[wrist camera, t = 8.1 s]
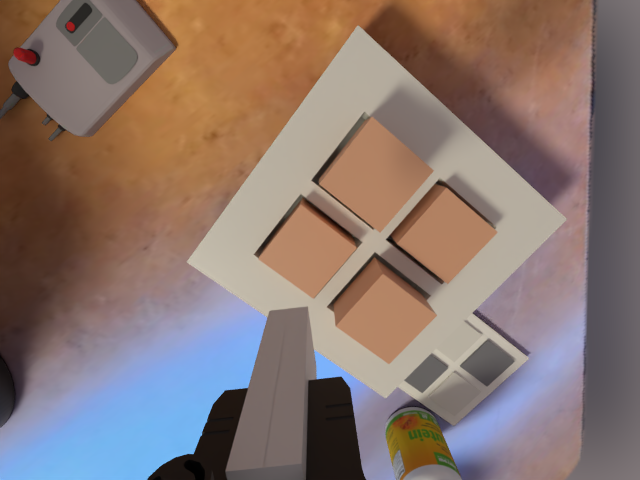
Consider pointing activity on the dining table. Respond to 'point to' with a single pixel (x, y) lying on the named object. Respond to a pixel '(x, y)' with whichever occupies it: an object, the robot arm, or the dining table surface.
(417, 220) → the button
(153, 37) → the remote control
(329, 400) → the robot arm
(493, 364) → the card
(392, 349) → the button
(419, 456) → the supplement bottle
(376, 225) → the button
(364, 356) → the board
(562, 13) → the dining table surface
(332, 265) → the button
